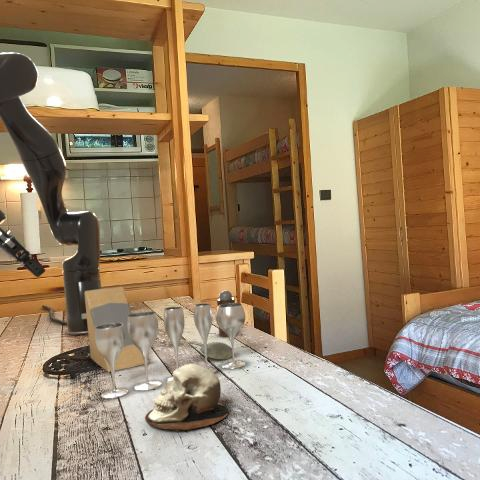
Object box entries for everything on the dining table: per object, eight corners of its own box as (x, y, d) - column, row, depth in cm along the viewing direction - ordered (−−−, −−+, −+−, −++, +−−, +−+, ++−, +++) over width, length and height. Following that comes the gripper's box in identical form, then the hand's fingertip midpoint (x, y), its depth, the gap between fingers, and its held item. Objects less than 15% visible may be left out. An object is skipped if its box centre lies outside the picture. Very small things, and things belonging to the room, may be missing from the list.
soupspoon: (213, 366, 105) (239, 359, 110) (213, 349, 105) (239, 344, 109) (160, 346, 120) (185, 341, 125) (160, 332, 120) (185, 327, 125)
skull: (151, 436, 68) (139, 367, 74) (150, 463, 75) (138, 398, 81) (239, 413, 73) (221, 350, 79) (229, 440, 81) (214, 381, 86)
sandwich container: (107, 372, 102) (101, 297, 102) (89, 357, 115) (83, 291, 114) (150, 363, 108) (145, 291, 107) (128, 349, 120) (123, 285, 119)
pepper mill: (217, 334, 131) (214, 290, 130) (235, 331, 132) (232, 288, 132) (221, 337, 127) (217, 292, 126) (238, 335, 128) (235, 290, 128)
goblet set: (104, 402, 86) (97, 323, 85) (96, 393, 90) (90, 318, 90) (253, 365, 102) (249, 298, 101) (240, 359, 107) (236, 295, 106)
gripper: (-12, 194, 97) (59, 260, 103) (-11, 203, 108) (53, 262, 114) (-47, 221, 94) (28, 287, 100) (-43, 228, 105) (25, 287, 111)
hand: (41, 274), depth 107 cm, fingers closed
